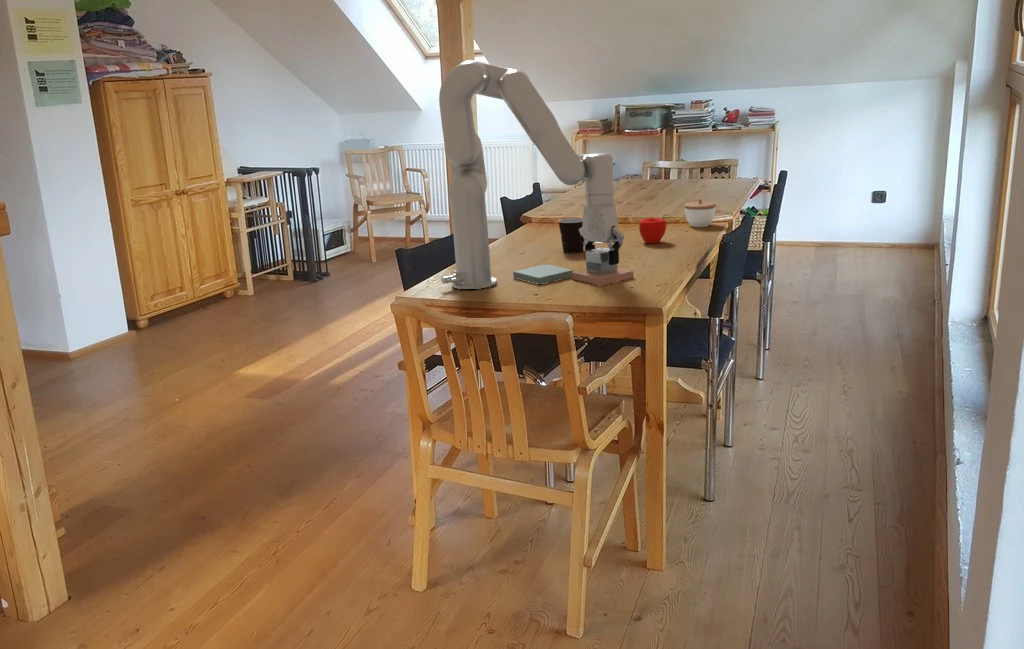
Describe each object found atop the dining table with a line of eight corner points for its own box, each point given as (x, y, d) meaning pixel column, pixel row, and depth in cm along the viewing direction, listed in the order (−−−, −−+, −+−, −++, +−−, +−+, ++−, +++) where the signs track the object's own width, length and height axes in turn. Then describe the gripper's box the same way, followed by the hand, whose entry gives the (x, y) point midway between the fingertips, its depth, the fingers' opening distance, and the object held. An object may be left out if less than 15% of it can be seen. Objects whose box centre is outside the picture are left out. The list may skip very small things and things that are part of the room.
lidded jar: (719, 223, 307) (720, 197, 304) (709, 229, 298) (709, 202, 296) (691, 222, 313) (691, 196, 310) (680, 227, 304) (679, 201, 301)
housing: (601, 275, 234) (600, 253, 232) (586, 272, 239) (585, 250, 237) (617, 271, 237) (616, 249, 236) (602, 268, 242) (602, 246, 240)
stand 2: (600, 286, 231) (600, 279, 230) (572, 279, 240) (571, 272, 240) (633, 278, 237) (633, 270, 237) (604, 271, 247) (604, 264, 246)
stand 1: (539, 285, 236) (538, 277, 236) (513, 278, 246) (513, 271, 245) (573, 277, 243) (572, 270, 242) (546, 270, 252) (546, 264, 252)
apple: (671, 242, 280) (671, 218, 278) (648, 246, 277) (647, 222, 275) (657, 238, 288) (657, 215, 286) (634, 242, 285) (633, 218, 283)
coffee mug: (581, 254, 271) (580, 223, 268) (555, 253, 275) (554, 222, 272) (593, 247, 281) (592, 216, 278) (568, 246, 285) (567, 216, 282)
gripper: (568, 199, 237) (571, 259, 242) (611, 204, 224) (613, 268, 228) (589, 195, 241) (591, 255, 246) (632, 200, 228) (633, 263, 232)
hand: (602, 261), depth 237 cm, fingers open, 9 cm apart
